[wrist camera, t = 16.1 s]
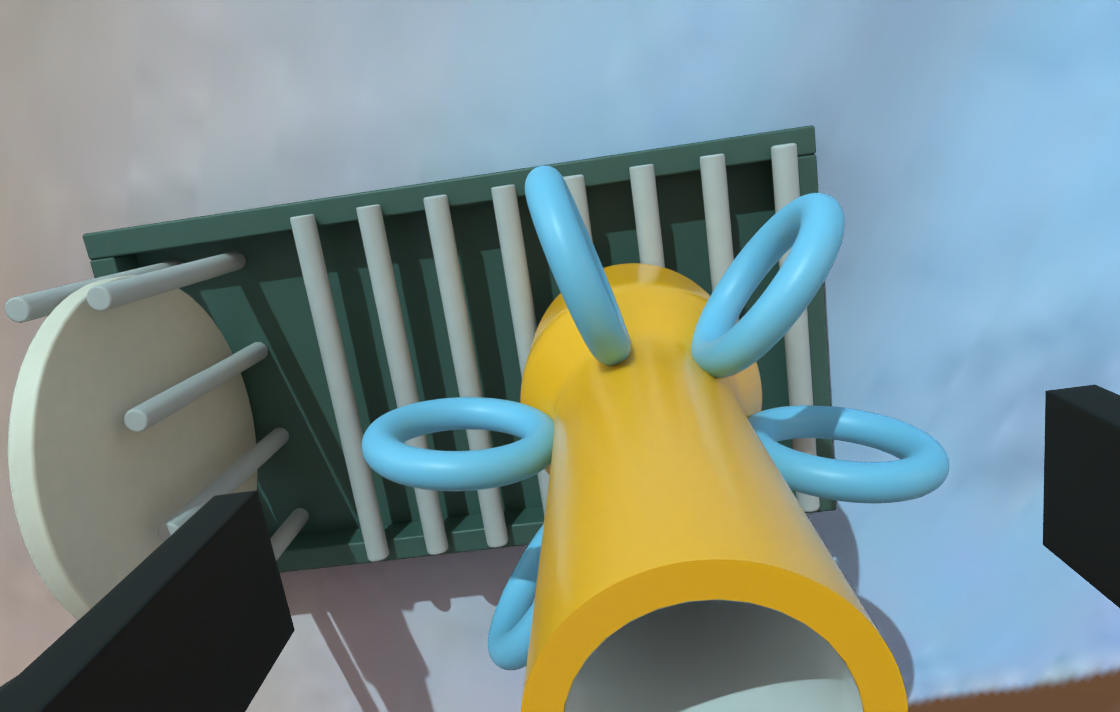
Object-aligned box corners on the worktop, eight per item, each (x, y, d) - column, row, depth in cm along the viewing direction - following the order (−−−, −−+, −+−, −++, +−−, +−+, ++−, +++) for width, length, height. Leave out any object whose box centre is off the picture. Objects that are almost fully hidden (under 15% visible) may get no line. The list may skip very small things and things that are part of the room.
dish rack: (218, 549, 28) (-6, 783, 17) (128, 227, 25) (-209, 275, 14) (815, 480, 26) (967, 692, 16) (792, 128, 23) (960, 100, 13)
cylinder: (657, 599, 24) (760, 1250, 10) (381, 429, 23) (33, 879, 9) (903, 289, 21) (1563, 553, 7) (602, 79, 20) (639, -130, 6)
